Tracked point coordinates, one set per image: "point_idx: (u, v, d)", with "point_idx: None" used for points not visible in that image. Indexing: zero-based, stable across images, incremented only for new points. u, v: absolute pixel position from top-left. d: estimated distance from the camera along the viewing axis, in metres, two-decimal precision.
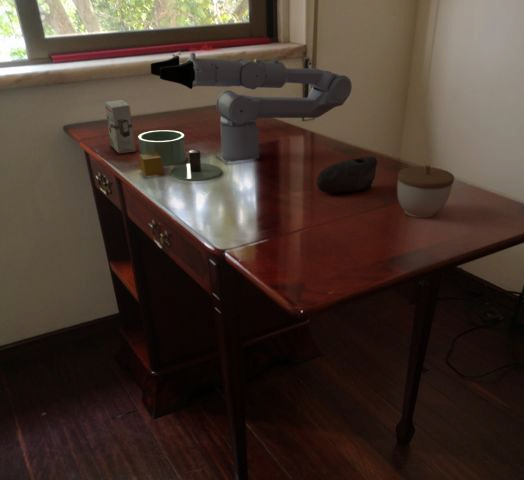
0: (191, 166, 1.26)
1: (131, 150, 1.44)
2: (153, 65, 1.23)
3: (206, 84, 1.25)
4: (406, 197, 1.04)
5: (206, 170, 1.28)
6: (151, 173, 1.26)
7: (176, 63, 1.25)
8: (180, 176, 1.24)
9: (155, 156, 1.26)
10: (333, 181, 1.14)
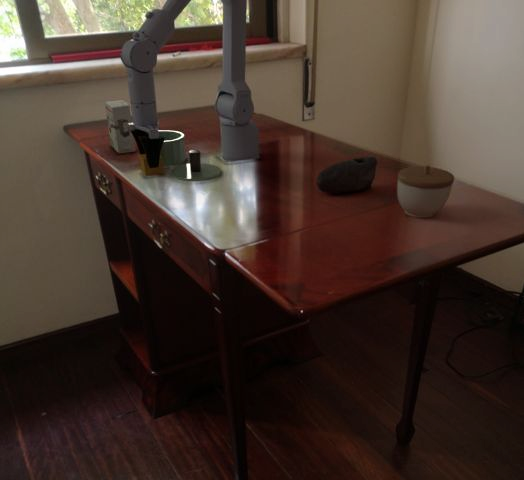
0: (191, 166, 1.26)
1: (131, 150, 1.44)
2: None
3: (155, 111, 1.20)
4: (406, 197, 1.04)
5: (206, 170, 1.28)
6: (151, 173, 1.26)
7: (137, 133, 1.26)
8: (180, 176, 1.24)
9: None
10: (333, 181, 1.14)
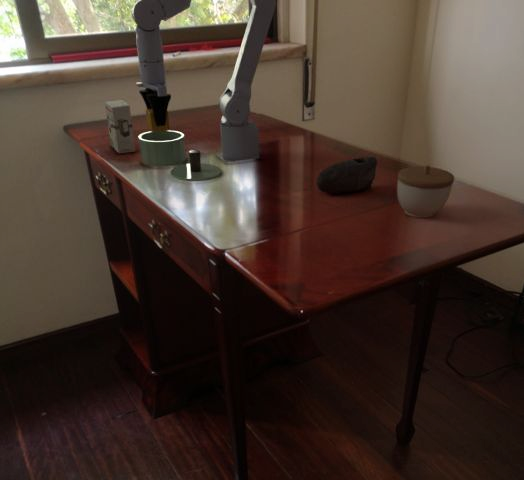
0: (191, 166, 1.26)
1: (131, 150, 1.44)
2: None
3: (163, 70, 1.23)
4: (406, 197, 1.04)
5: (206, 170, 1.28)
6: (157, 127, 1.29)
7: None
8: (180, 176, 1.24)
9: None
10: (333, 181, 1.14)
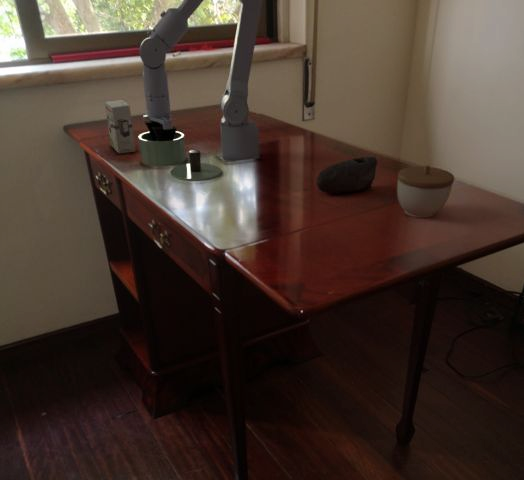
0: (191, 166, 1.26)
1: (131, 150, 1.44)
2: None
3: (168, 103, 1.29)
4: (406, 197, 1.04)
5: (206, 170, 1.28)
6: None
7: (152, 125, 1.34)
8: (180, 176, 1.24)
9: None
10: (333, 181, 1.14)
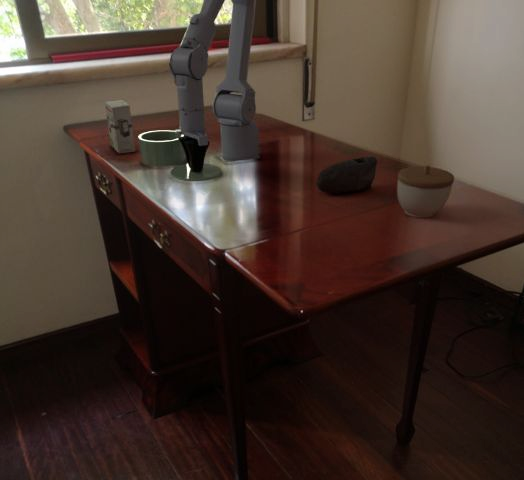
0: (191, 166, 1.26)
1: (131, 150, 1.44)
2: None
3: (203, 117, 1.20)
4: (406, 197, 1.04)
5: (206, 170, 1.28)
6: None
7: None
8: (180, 176, 1.24)
9: None
10: (333, 181, 1.14)
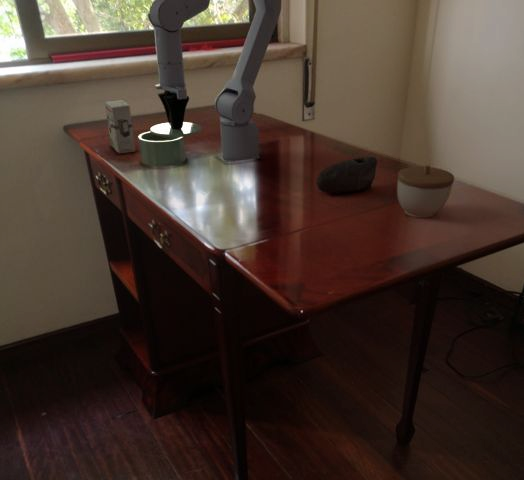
0: (171, 123, 1.25)
1: (131, 150, 1.44)
2: None
3: (183, 72, 1.20)
4: (406, 197, 1.04)
5: (186, 127, 1.27)
6: None
7: None
8: (160, 132, 1.23)
9: None
10: (333, 181, 1.14)
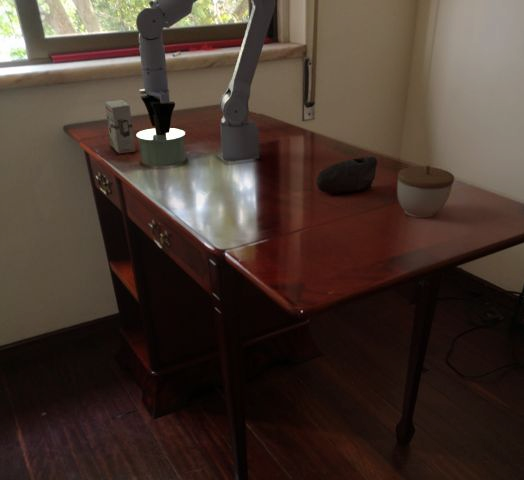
0: (156, 129, 1.32)
1: (131, 150, 1.44)
2: (153, 124, 1.35)
3: (166, 77, 1.25)
4: (406, 197, 1.04)
5: (171, 133, 1.33)
6: None
7: (148, 100, 1.31)
8: (145, 138, 1.30)
9: None
10: (333, 181, 1.14)
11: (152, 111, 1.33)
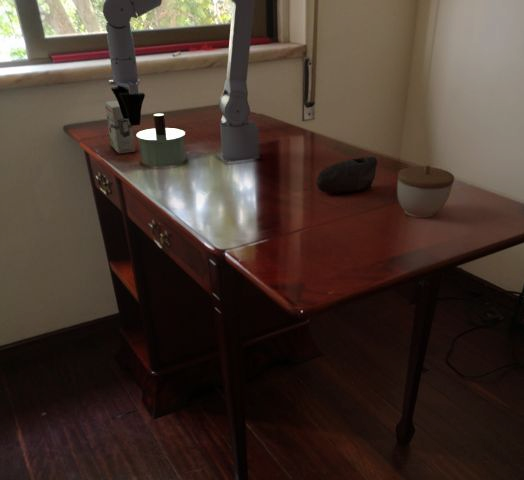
0: (156, 129, 1.32)
1: (131, 150, 1.44)
2: (124, 116, 1.31)
3: (135, 68, 1.21)
4: (406, 197, 1.04)
5: (171, 133, 1.33)
6: None
7: (118, 92, 1.27)
8: (145, 138, 1.30)
9: None
10: (333, 181, 1.14)
11: (123, 103, 1.29)
